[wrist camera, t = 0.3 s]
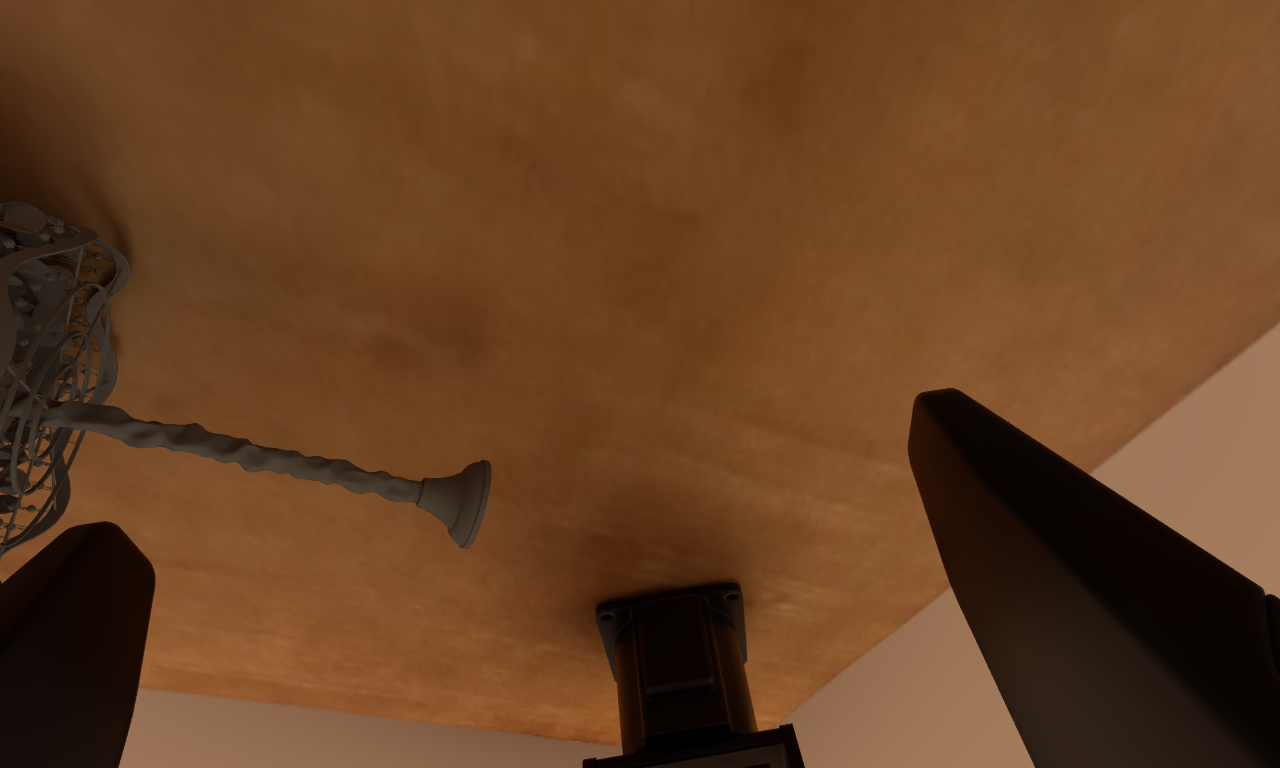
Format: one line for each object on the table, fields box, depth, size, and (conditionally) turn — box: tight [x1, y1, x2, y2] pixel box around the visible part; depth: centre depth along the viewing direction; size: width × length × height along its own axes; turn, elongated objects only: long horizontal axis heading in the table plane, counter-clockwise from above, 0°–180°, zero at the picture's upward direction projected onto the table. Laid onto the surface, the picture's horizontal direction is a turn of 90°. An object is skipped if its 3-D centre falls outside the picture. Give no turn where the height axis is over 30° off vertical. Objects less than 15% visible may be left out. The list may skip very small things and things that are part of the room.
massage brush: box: [0, 201, 491, 585], centre depth 19 cm, size 9×22×9 cm, turn 64°
